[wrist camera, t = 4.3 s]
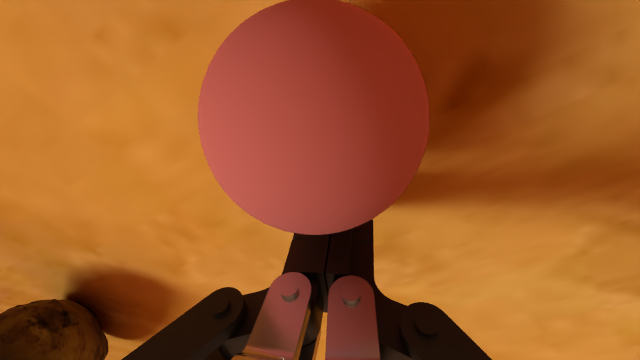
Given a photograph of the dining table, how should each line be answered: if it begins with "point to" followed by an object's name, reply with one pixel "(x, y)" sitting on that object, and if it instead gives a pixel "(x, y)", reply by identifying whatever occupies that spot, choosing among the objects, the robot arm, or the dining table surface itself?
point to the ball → (313, 116)
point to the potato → (51, 332)
